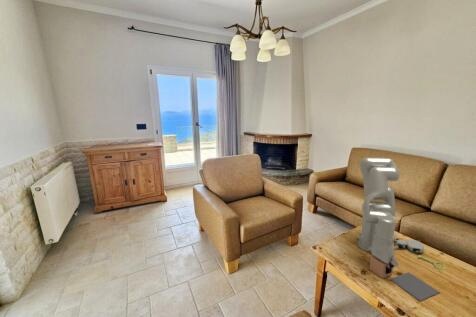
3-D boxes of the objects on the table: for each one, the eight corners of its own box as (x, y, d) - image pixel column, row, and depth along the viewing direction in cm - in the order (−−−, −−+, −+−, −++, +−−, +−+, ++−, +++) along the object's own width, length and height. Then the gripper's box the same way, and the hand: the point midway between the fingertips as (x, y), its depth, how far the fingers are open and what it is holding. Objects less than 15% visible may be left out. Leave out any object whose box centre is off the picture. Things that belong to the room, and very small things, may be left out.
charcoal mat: (389, 279, 108) (390, 278, 108) (408, 273, 112) (408, 272, 112) (420, 301, 95) (420, 300, 95) (439, 293, 99) (439, 292, 99)
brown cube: (369, 268, 116) (370, 256, 115) (379, 265, 119) (380, 253, 117) (382, 278, 110) (383, 265, 108) (391, 274, 112) (393, 261, 110)
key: (416, 257, 125) (417, 253, 125) (445, 265, 118) (445, 262, 117) (417, 263, 120) (418, 260, 120) (447, 273, 112) (447, 269, 112)
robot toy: (395, 251, 132) (425, 257, 124) (395, 244, 131) (426, 250, 124) (392, 241, 142) (420, 246, 135) (392, 235, 142) (421, 240, 134)
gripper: (364, 232, 117) (361, 259, 121) (395, 250, 101) (391, 281, 104) (374, 229, 120) (371, 256, 123) (406, 247, 103) (402, 277, 107)
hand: (380, 267), depth 114 cm, fingers closed on brown cube, 7 cm apart
